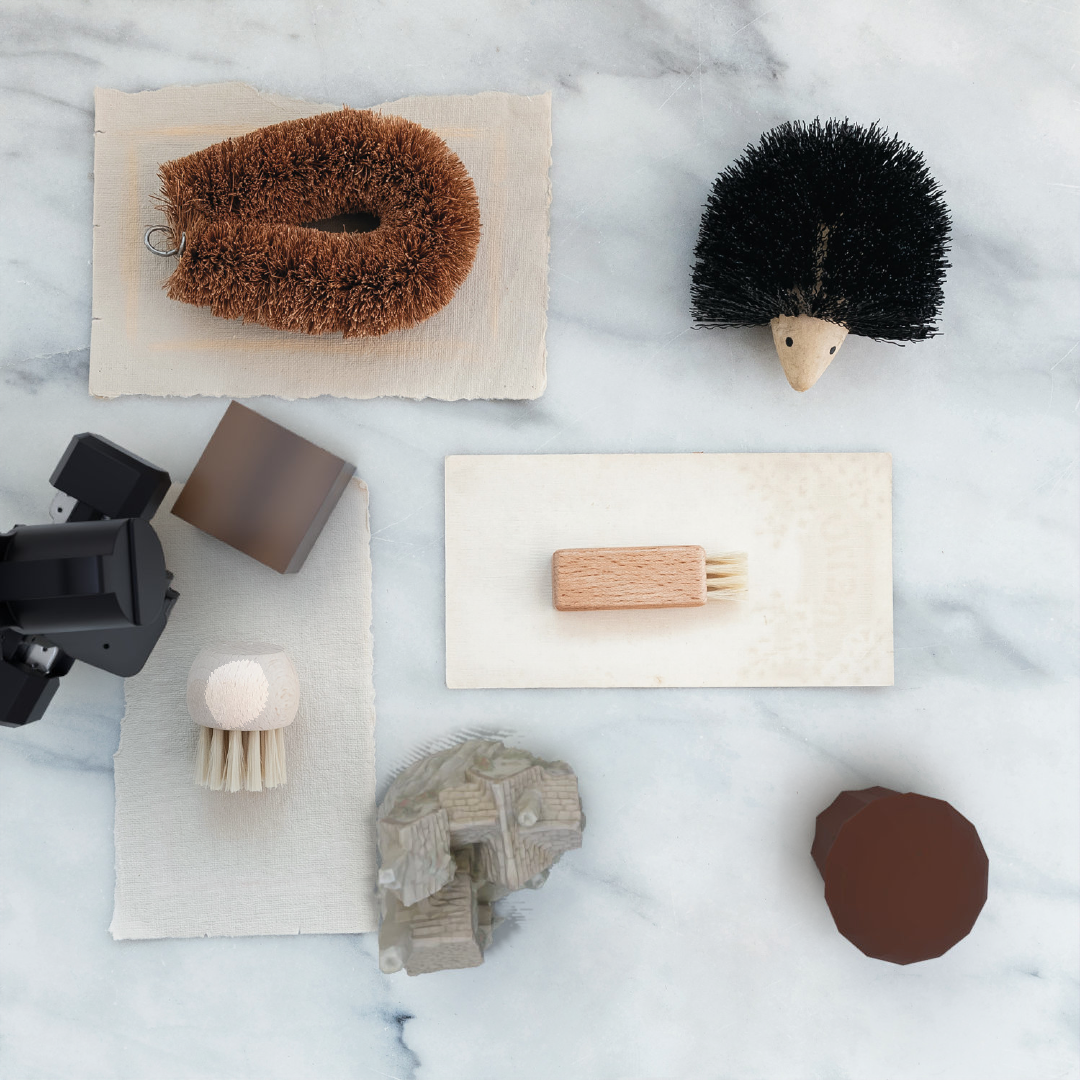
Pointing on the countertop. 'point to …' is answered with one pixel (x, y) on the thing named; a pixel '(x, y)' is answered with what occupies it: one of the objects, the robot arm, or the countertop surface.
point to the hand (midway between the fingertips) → (119, 575)
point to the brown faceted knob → (900, 873)
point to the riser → (263, 489)
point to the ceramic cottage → (466, 849)
